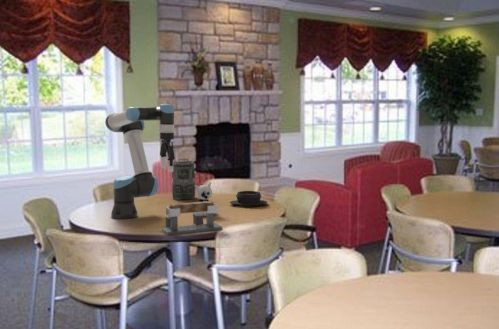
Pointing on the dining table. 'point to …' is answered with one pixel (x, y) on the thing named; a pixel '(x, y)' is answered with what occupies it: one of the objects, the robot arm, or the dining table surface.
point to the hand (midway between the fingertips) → (167, 170)
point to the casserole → (248, 198)
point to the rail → (192, 206)
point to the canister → (183, 180)
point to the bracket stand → (192, 228)
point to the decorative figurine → (203, 195)
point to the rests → (196, 220)
